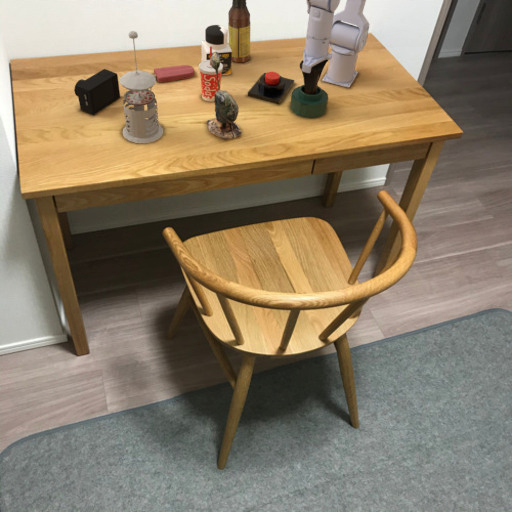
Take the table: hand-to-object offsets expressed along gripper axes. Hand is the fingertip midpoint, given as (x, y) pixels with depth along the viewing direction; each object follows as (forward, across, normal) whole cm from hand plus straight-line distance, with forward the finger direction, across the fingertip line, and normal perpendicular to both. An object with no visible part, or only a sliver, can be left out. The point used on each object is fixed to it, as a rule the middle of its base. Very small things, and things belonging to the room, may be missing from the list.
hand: (311, 86), depth 144 cm
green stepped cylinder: (+6, 0, 0) cm, 6 cm away
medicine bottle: (+7, +7, +30) cm, 32 cm away
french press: (+7, -28, +33) cm, 44 cm away
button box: (+6, +4, +12) cm, 14 cm away
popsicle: (+7, -3, +40) cm, 41 cm away
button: (+4, +4, +12) cm, 13 cm away
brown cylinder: (+3, 0, 0) cm, 3 cm away
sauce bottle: (+7, +16, +27) cm, 32 cm away
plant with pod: (+7, -20, +15) cm, 26 cm away
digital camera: (+7, -23, +49) cm, 55 cm away
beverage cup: (+7, -7, +25) cm, 27 cm away
